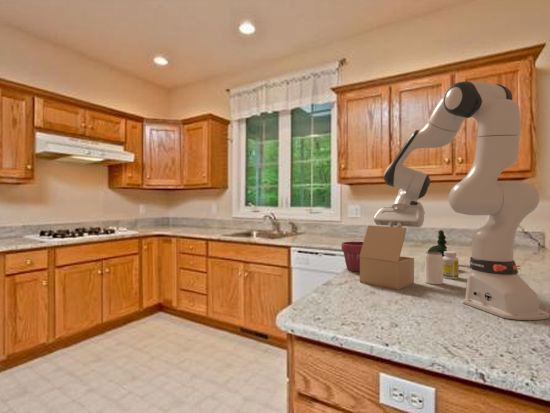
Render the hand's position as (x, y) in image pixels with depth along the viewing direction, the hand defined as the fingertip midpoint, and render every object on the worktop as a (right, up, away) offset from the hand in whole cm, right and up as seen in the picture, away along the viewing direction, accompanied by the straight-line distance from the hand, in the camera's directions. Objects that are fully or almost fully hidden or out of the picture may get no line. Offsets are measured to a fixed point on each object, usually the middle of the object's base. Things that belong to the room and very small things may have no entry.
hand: (392, 231), depth 132 cm
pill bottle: (+27, -20, +6) cm, 34 cm away
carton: (-3, -20, -3) cm, 21 cm away
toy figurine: (+34, -20, +29) cm, 49 cm away
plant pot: (-9, -20, +22) cm, 31 cm away
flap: (-6, -4, -5) cm, 9 cm away
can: (+15, -20, -3) cm, 26 cm away
